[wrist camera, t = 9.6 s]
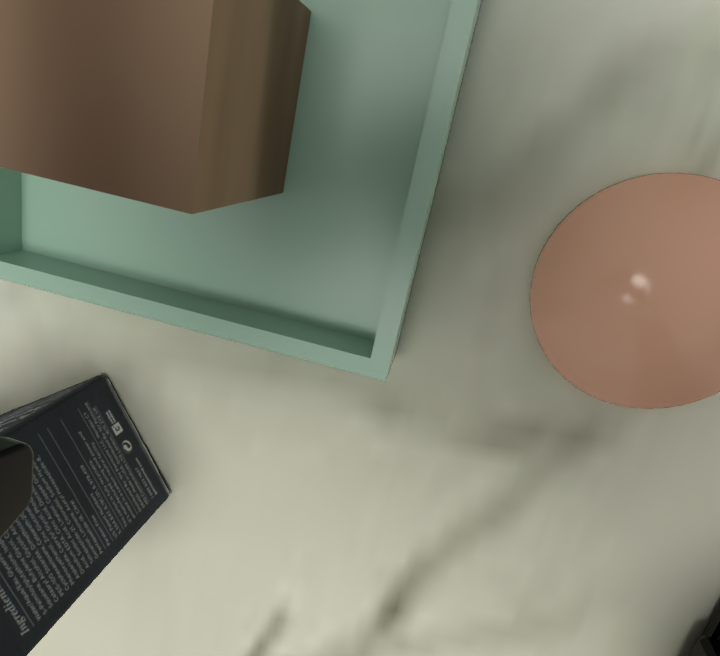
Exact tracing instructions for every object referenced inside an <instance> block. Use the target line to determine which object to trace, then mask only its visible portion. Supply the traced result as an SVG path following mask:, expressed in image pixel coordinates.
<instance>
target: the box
mask: <svg viewBox="0 0 720 656" xmlns="http://www.w3.org/2000/svg"><path fill="white" fill-rule="evenodd" d="M0 437H9V438H12V439H15V440H18V441H21V442H24V443H27V444H28V445H29V446H31V448H32V450H33V492H32V497H31V500H30V502H29V504H28V506H27V508H26V509H25V510H24V512H23V513H22V514H21V515H20V516H19V518H18V519H17V520H16V521H15V522H14V523H13V524H12V526H11V527H10V528H9V529H8V530H7V531H6V532H5V534H4V535H3V536H2V537H1V538H0V656H27V654H28V653H29V652H30V651H31V650H32V649H33V648H34V647H35V645H36V644H37V643H38V642H39V641H40V640H41V639H42V638H43V637H44V636H45V635H46V634H47V632H48V631H49V630H50V629H51V628H52V627H53V626H54V624H55V623H56V622H57V621H58V620H59V619H60V618H61V617H62V616H63V614H64V613H65V612H66V611H67V610H68V609H69V608H70V606H71V605H72V604H73V603H74V602H75V601H76V599H77V598H78V597H79V596H80V595H81V594H82V593H83V592H84V591H85V589H86V588H87V587H88V586H89V585H90V584H91V583H92V582H93V580H94V579H95V578H96V577H97V576H98V575H99V574H100V573H101V572H102V570H103V569H104V568H105V567H106V566H107V565H108V564H109V563H110V562H111V560H112V559H113V558H114V557H115V556H116V555H117V554H118V552H119V551H120V550H121V549H122V548H123V547H124V546H125V545H126V544H127V543H128V541H129V540H130V539H131V538H132V537H133V536H134V535H135V534H136V532H137V531H138V530H139V529H140V528H141V527H142V526H143V525H144V524H145V523H146V522H147V520H148V519H149V518H150V517H151V516H152V515H153V514H154V512H155V511H156V510H157V509H158V508H159V507H160V506H161V505H162V503H163V502H164V501H165V500H166V499H167V498H168V496H169V490H168V488H167V487H166V485H165V483H164V481H163V480H162V478H161V476H160V474H159V472H158V469H157V467H156V465H155V464H154V462H153V460H152V458H151V456H150V455H149V452H148V450H147V448H146V447H145V445H144V444H143V442H142V440H141V439H140V436H139V435H138V432H137V430H136V428H135V427H134V425H133V423H132V421H131V420H130V418H129V416H128V414H127V413H126V411H125V409H124V407H123V405H122V404H121V402H120V399H119V398H118V396H117V395H116V392H115V391H114V389H113V387H112V385H111V383H110V380H109V379H108V378H106V377H103V376H96V377H94V378H92V379H89V380H87V381H84V382H82V383H80V384H77V385H75V386H72V387H70V388H67V389H65V390H62V391H60V392H57V393H55V394H52V395H50V396H48V397H45V398H42V399H40V400H38V401H35V402H33V403H30V404H28V405H25V406H22V407H20V408H18V409H15V410H12V411H10V412H8V413H5V414H3V415H0Z"/></svg>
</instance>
